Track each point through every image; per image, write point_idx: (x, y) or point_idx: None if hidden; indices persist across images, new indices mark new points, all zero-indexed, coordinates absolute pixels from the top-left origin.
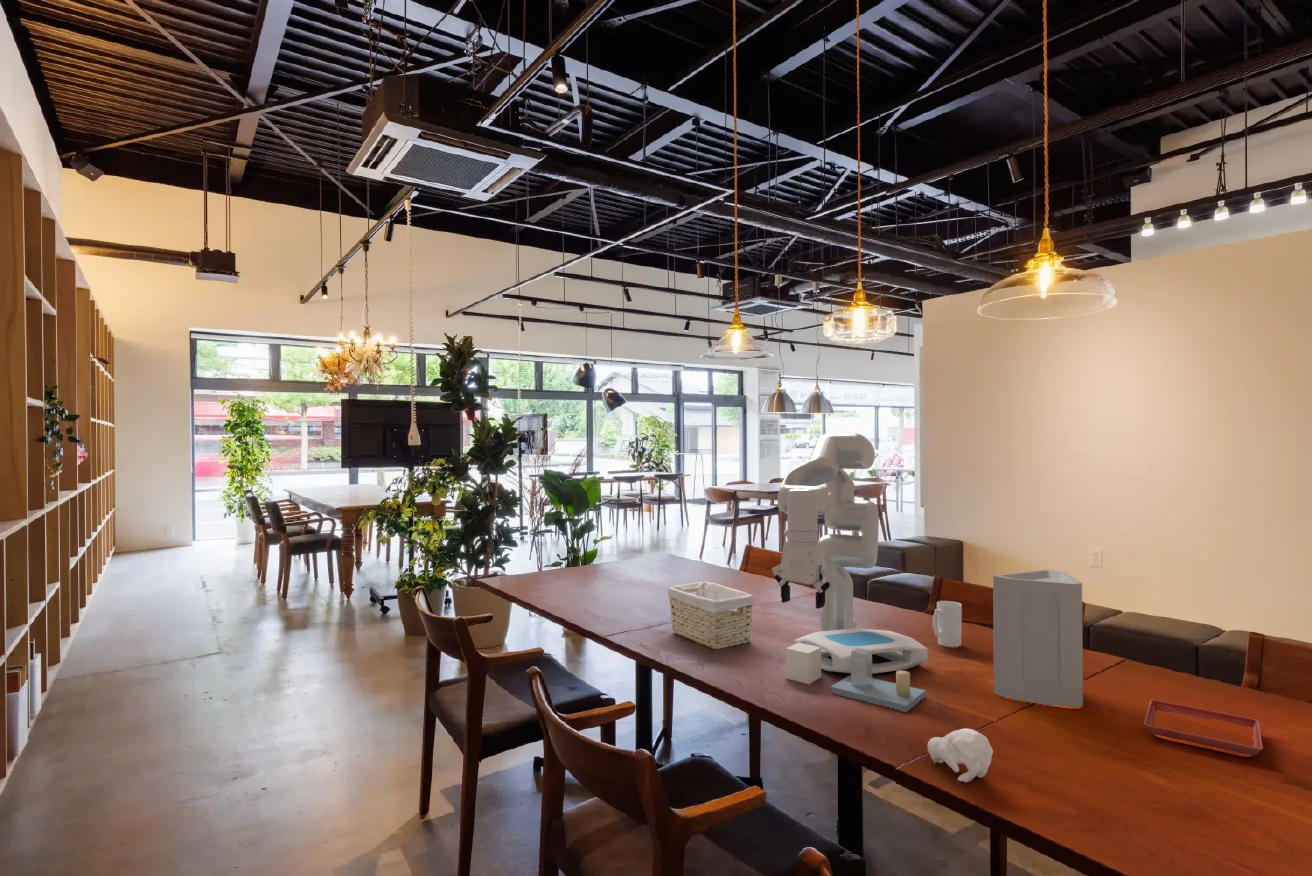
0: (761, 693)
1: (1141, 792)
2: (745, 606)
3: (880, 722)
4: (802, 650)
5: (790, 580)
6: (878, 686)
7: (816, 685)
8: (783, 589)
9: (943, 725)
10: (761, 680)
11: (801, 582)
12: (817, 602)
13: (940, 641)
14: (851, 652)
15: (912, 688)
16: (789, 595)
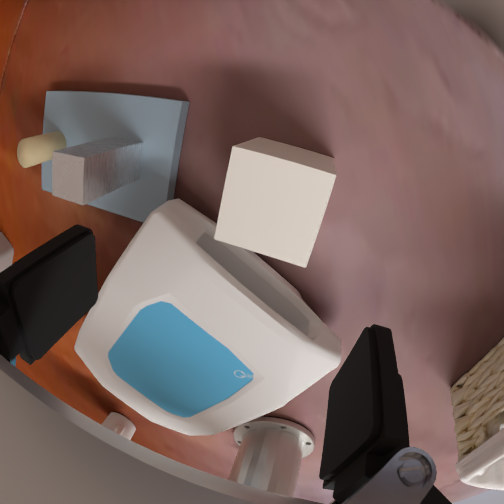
0: (361, 16)
1: None
2: (478, 446)
3: (81, 17)
4: (265, 172)
5: (224, 498)
6: None
7: (238, 138)
8: (381, 416)
9: (20, 78)
10: (397, 116)
11: (19, 382)
12: (53, 240)
13: (126, 423)
14: (85, 157)
15: None
16: (330, 411)
